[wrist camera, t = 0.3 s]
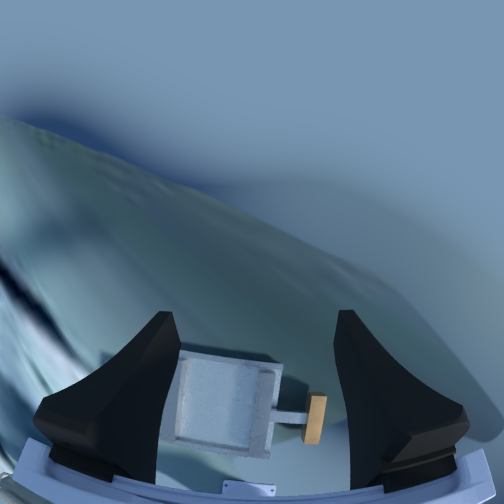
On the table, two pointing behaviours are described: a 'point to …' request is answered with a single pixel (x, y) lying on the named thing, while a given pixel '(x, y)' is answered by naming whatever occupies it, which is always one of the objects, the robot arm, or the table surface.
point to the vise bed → (215, 403)
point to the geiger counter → (18, 492)
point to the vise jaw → (283, 415)
